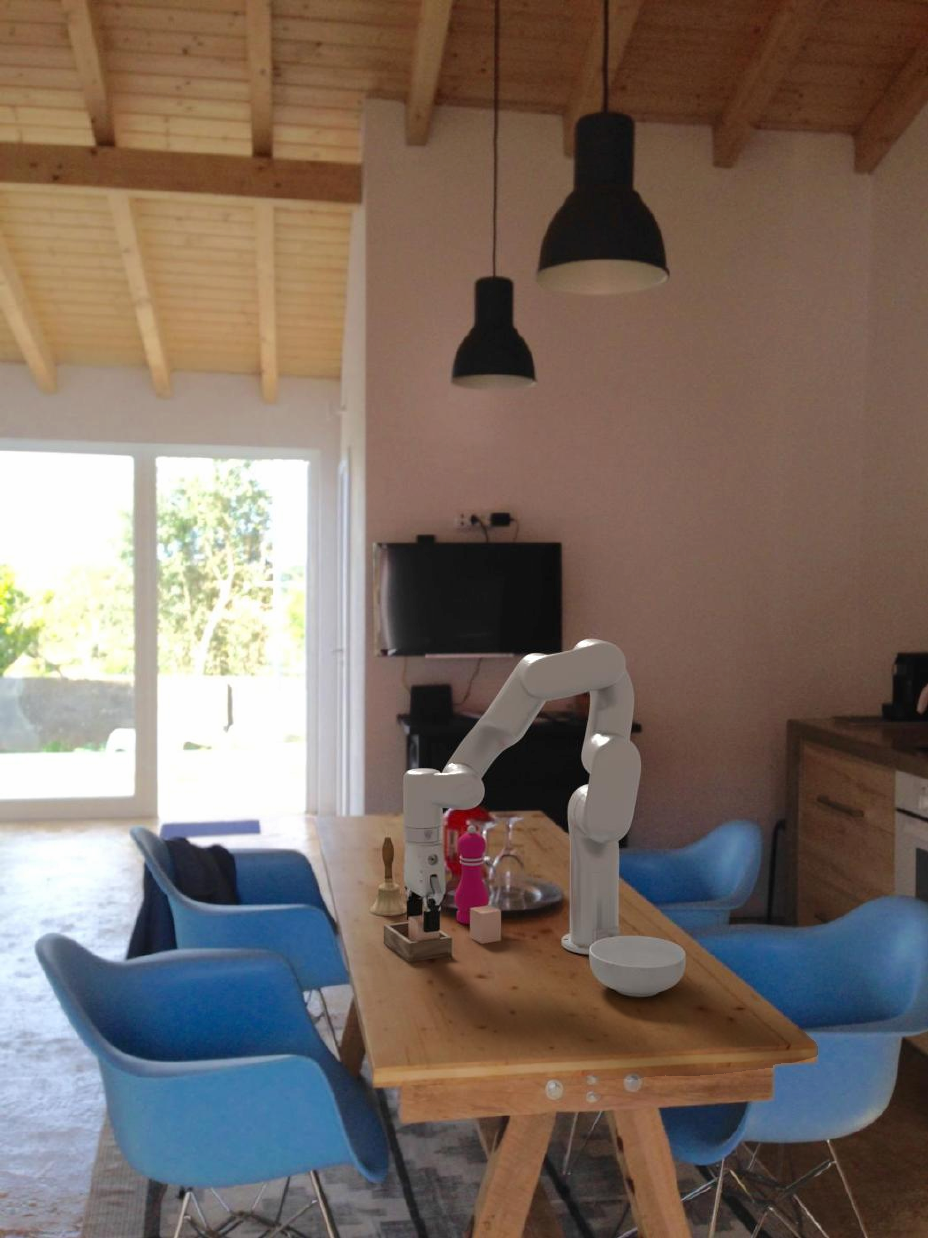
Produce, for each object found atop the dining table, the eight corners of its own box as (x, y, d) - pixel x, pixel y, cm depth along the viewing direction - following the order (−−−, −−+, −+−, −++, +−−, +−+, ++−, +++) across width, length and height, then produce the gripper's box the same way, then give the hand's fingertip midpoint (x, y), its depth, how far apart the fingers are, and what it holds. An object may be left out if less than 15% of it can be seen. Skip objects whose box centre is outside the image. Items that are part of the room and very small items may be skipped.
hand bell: (379, 918, 253) (379, 843, 253) (363, 908, 261) (363, 835, 260) (414, 913, 257) (414, 839, 256) (398, 903, 264) (398, 832, 264)
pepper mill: (485, 926, 247) (485, 830, 247) (451, 924, 249) (451, 828, 248) (491, 916, 255) (491, 822, 254) (458, 914, 256) (458, 821, 255)
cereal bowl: (570, 982, 213) (570, 943, 213) (644, 968, 222) (645, 930, 221) (628, 1013, 199) (628, 971, 198) (705, 996, 207) (706, 956, 206)
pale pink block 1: (439, 951, 228) (439, 920, 228) (417, 954, 226) (417, 923, 226) (430, 944, 232) (429, 914, 232) (408, 947, 231) (408, 917, 230)
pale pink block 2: (500, 940, 238) (501, 910, 238) (481, 944, 236) (481, 913, 236) (489, 934, 242) (489, 905, 242) (470, 938, 240) (470, 908, 239)
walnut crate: (451, 955, 228) (451, 937, 228) (409, 962, 225) (409, 943, 224) (424, 937, 240) (424, 919, 240) (383, 942, 236) (383, 925, 236)
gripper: (460, 841, 223) (460, 935, 223) (422, 823, 238) (422, 911, 239) (423, 845, 219) (423, 941, 220) (387, 827, 235) (387, 916, 236)
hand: (422, 925), depth 230 cm, fingers open, 7 cm apart
